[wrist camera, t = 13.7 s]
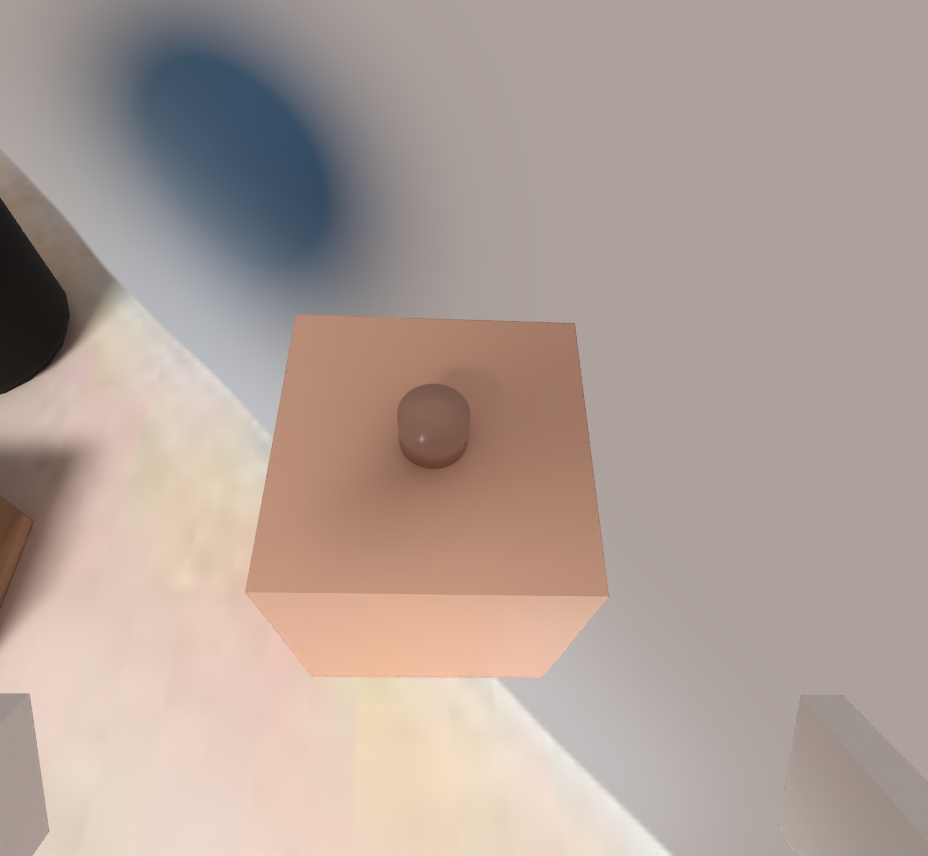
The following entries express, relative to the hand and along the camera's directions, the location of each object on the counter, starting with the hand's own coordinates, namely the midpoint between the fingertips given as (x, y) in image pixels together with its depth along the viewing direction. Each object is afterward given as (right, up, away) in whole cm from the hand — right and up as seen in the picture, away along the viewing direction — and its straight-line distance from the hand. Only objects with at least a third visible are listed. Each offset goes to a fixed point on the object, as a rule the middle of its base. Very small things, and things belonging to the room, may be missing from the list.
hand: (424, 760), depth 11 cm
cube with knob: (-1, -1, +22) cm, 22 cm away
